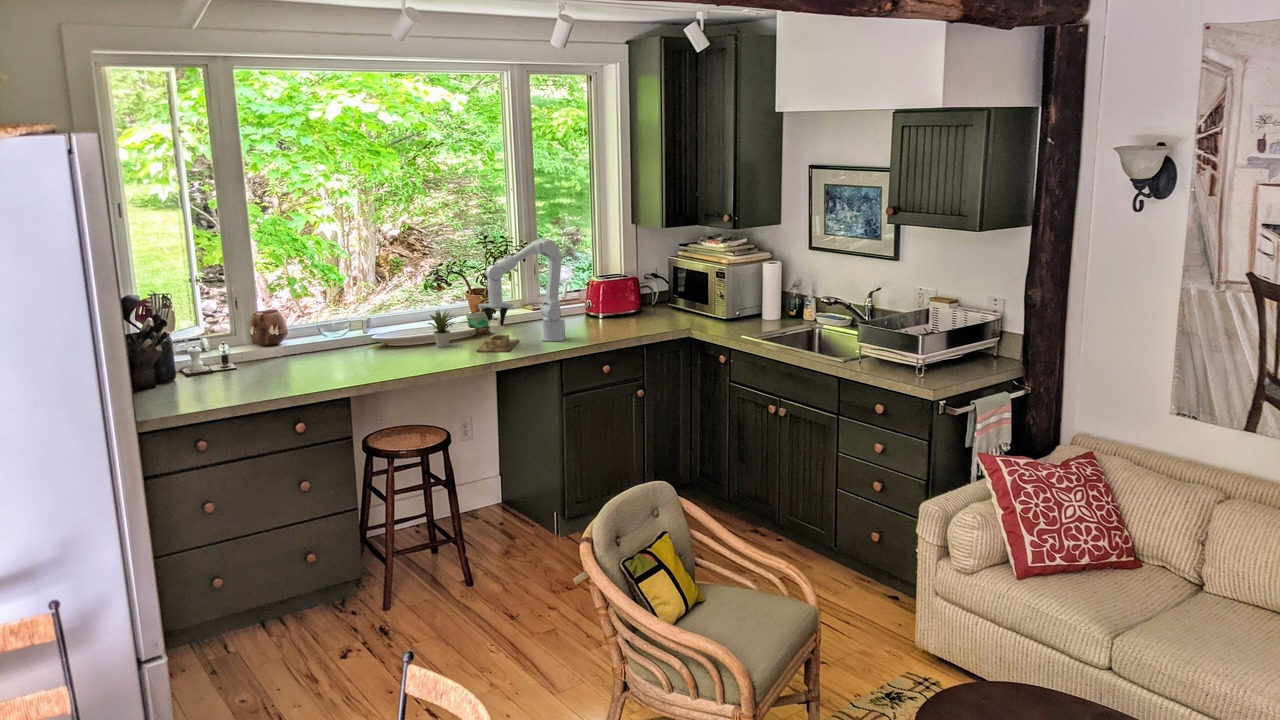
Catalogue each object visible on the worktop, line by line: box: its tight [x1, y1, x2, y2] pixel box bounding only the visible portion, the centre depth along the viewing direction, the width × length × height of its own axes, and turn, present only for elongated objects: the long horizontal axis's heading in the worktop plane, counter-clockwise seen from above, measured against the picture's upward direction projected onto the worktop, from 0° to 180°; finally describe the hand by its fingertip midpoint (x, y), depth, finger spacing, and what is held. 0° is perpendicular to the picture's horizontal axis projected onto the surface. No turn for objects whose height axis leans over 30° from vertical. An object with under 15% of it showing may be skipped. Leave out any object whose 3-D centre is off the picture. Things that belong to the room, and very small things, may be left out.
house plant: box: [426, 308, 458, 348], centre depth 427 cm, size 14×14×16 cm
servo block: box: [488, 316, 506, 334], centre depth 425 cm, size 4×13×6 cm, turn 175°
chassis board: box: [475, 334, 520, 353], centre depth 427 cm, size 14×20×4 cm
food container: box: [465, 310, 489, 336], centre depth 451 cm, size 12×6×10 cm, turn 143°
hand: (496, 325), depth 425 cm, fingers closed on servo block, 4 cm apart
